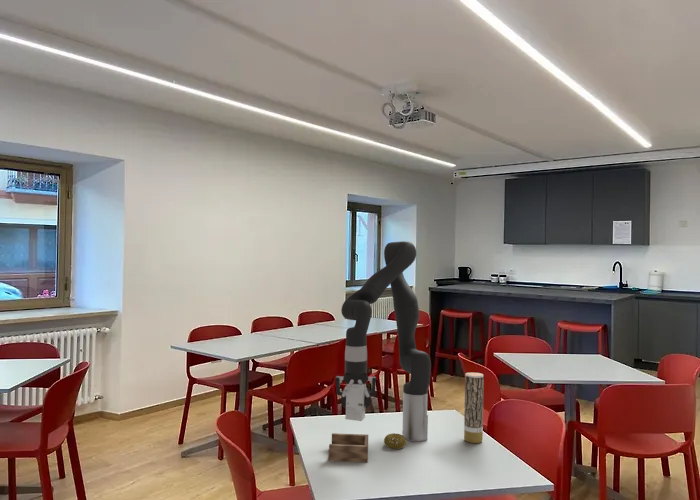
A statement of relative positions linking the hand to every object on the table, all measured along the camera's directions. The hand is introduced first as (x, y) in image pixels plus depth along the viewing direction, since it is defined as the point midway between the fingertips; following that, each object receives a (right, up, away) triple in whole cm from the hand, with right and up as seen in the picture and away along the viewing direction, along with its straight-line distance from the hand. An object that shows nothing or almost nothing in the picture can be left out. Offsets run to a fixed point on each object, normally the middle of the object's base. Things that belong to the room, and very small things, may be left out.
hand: (355, 407), depth 178 cm
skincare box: (0, -4, 0) cm, 4 cm away
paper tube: (+45, -19, +20) cm, 52 cm away
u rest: (-2, -17, +3) cm, 18 cm away
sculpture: (+14, -18, +12) cm, 26 cm away
